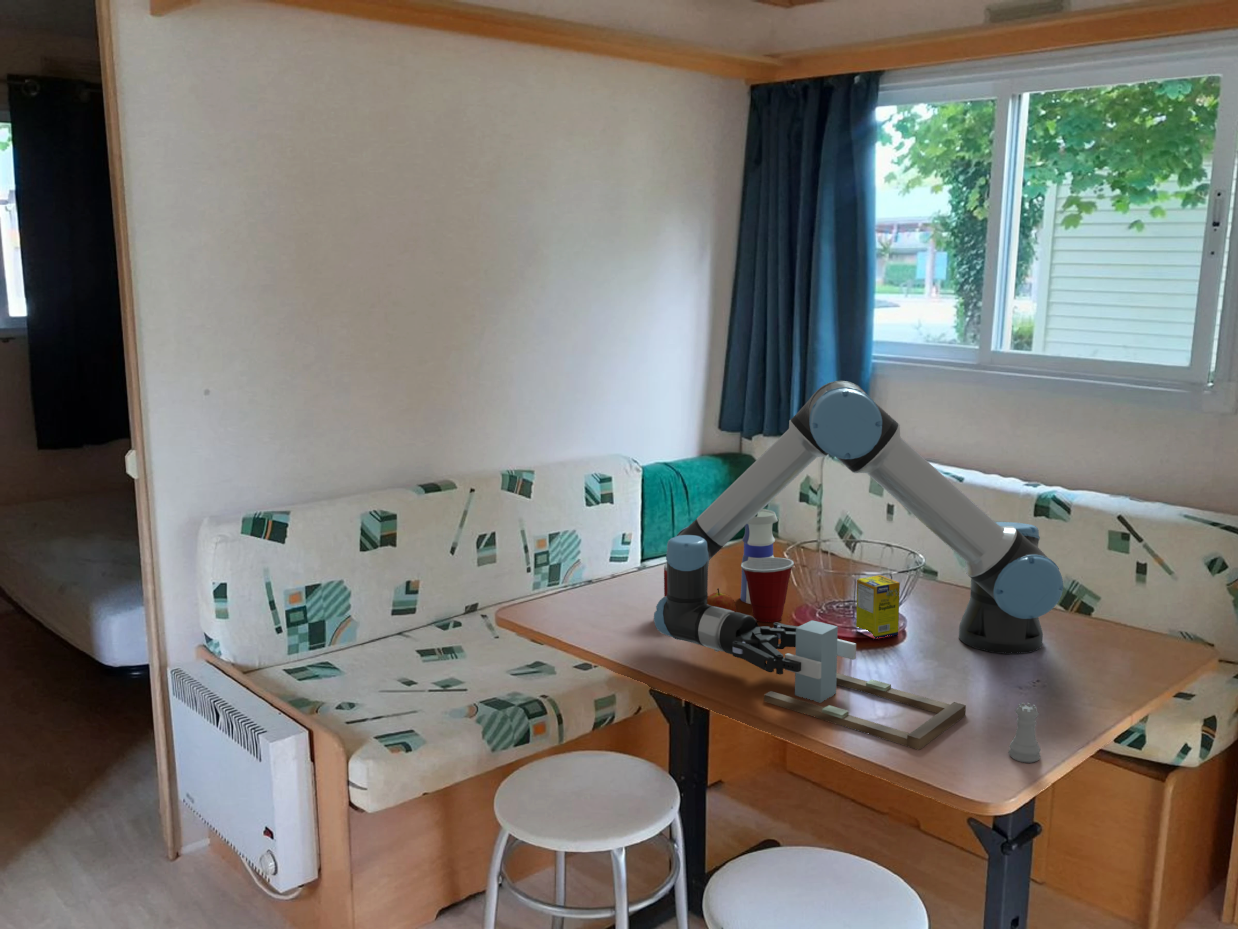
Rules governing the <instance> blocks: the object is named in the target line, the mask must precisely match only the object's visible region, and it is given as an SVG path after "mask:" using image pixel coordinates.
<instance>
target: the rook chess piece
mask: <svg viewBox="0 0 1238 929" xmlns="http://www.w3.org/2000/svg"><path fill="white" fill-rule="evenodd" d="M1025 704H1026V703H1025V702H1020V703H1018V705H1017V708H1016V709H1015V710H1014V711H1015V713H1016V715H1017V719H1015V721H1016V724H1017V727H1016V732H1015V736H1014V737H1013V738H1012V741H1010V744H1009V746H1008V747H1009V750H1008V755H1009V756H1010V757H1011V758H1012V759H1013V760H1014V761H1017V762H1020V763H1023V764H1024V763H1025V764H1033V763H1036V762H1038V760H1040V759H1041V754H1040V752H1041V751H1042V750H1041V746H1040V745H1039V743H1038V740H1037V738H1036V725H1037V721H1036V718H1037V717H1038V716H1039V715H1040V713H1039V712H1038V710H1037V709H1038V708H1037V706H1036V705H1035V704H1032V703H1029V702H1027V704H1026V705H1025Z"/></svg>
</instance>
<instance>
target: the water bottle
mask: <svg viewBox="0 0 1238 929" xmlns="http://www.w3.org/2000/svg"><path fill="white" fill-rule="evenodd" d="M778 521H779V519H778V517H777V515H776V512H775V511H774V510H770V509H765V508H763V509H762V510H761V511H760V512H759V513H758V514H757V515H756V516H755V517H754V518H752V519H751V520H750V521H749V522H748V523H747V524H746V525H745V526H744V529H745V530H744V535H743V537H742V540H741V541H742V542H743V555H742V559H741V563H743V562H745V561H748V560H751V559H757V558H769V557H774V558H775V556H774V543H775V541H776V538H775V537H774V535H773V524H775V523H777V522H778ZM740 580H741V586H740V596H739V597H740V601H741V602H743V603H746V604H748V605H749V604H750V605H751V601H750V596H749V590H748V584H747V579H746V576H745V573H744V570H743V569H742V568H741V579H740Z"/></svg>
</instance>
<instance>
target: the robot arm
mask: <svg viewBox="0 0 1238 929" xmlns="http://www.w3.org/2000/svg"><path fill="white" fill-rule="evenodd" d="M788 422H789V424H788V429H787V430H786V431H785V432H783V434H782V435H780V437H779V438H778V439H776V441H775V442H774V443H773V444H772V445H771V446H769V448H768V449H767V450H766V451H764V453H763V454H761V456H759V457H758V458H757V459H756V460H755V461H754V462H753V463H752V464H751V465H750V466H749V467H748V468H746V470H745V471H743V473H742V474H741V475H740V476H739V477H737V479H736V480H734V481H733V482H732V484H731V485H729V486H728V487H727V488H726V489H725V490H724V491H723V492H722V493H721V494H720V495H719V496H718V497H717V498H715V500H714V501H713V502H711V504H710V505H709V506H708V507H707V508H706V509H705V510H704V511H703V512H702V513H701V514H700V515H699V516H697V518H696V519H695V520H694V521H693V522H692V523H690V525H687V526H686V527H684V528H682V529H681V530H680V531H679V532H678V533H677V534H676V535H675V536H674V537H671V538H670V539H668V541H667V544H666V545H667V546H666V556H665V561H666V564H667V588H668V592H667V596H665V597H664V596H663V597H662V598H661V599H660V600H659V601H658V603H657V604H656V606H655V608H656V610H655V612H654V614H653V621H654V626H655V628H656V630H657V631H658V632H660V634H663V635H666V636H669V637H671V638H673V639H675V640H678V641H683V642H687V643H692V644H694V645H695V644H696V645H700V646H702V647H705V648H709V649H712V650H714V652H716V653H717V652H719V651H720V652H725V653H726V654H728V655H732V657H735V658H737V659H740V660H741V659H742V660H744V661H745V662H748V663H749V664H751V665H753V666H756V667H757V668H760V669H761V670H763V671H766V672H768V673H774V672H775V671H776V672H775V674H776V675H783V674H784V670H785V671H788V672H791V673H794V674H795V673H798V674H802V675H805V676H809V677H812V678H816V679H820V678H821V662H818V661H815V660H811V659H807V658H804V657H800V656H796V654H792V653H788V652H787V653H785V654H783V653H781V652H780V651H779V650H785V648H796V628H797V627H799V626H800V625H799V626H797V625H792V624H791V625H789V624H785V623H780V622H778V621H776V622H773V627H770V626H767V625H766V626H760V625H759V623H758V622H757V620H756V619H755V618H754V616H753V615H749V614H746V613H741V612H738V611H736V612H734V611H732V610H728V609H723V608H719V607H715V606H711V605H708V604H707V597H708V596H709V594H708V578H709V577H708V576H709V575H708V574H709V565H710V560H712V558H713V557H714V556H715V555H716V554H717V553H719V552H720V551H721V550H722V548H724V546H725V545H727V543H728V542H729V541H730V540H732V539H733V538H734V537H735V536H736V535H737V534H738V533H739V532H740V531H742V529H743V528H745V525H746V524H747V523H748V522H749V521H750V520H751V519H752V518H754V517H757V515H758V513H759V512H760V511H761V510H762V509H765V507H767V506H768V505H769V504H770V502H772V501H773V499H775V498H776V497H777V496H778V495H779V494H780V493H781V492H782V491H783V490H784V489H785V488H786V487H787V486H789V485H790V483H792V482H793V481H794V480H795V479H796V478H797V477H798V476H799V475H800V474H801V473H802V472H803V471H804V470H806V468H808V467H809V465H811V464H812V463H813V462H814V461H815V460H816V459H817V458H826V457H827V456H828V455H830V456H831V457H834V458H836V459H837V460H838V461H839V462H840V463H842V464H843V465H844V466H845V467H846V468H847V469H848V470H849V471H850V472H852V473H853V474H867V475H868V476H869V477H870V478H871V479H872V480H874V481H875V482H876V483H877V484H878V485H879V486H880V487H881V488H882V489H884V490H885V491H886V492H887V493H888V494H889V495H890V496H892V498H894V499H895V500H896V501H897V502H898V503H899V504H900V505H902V506H903V507H904V509H906V510H907V511H908V512H909V513H910V514H912V515H913V516H914V517H915V518H916V519H917V520H918V521H920V523H922V525H924V526H925V528H927V529H928V530H930V531H931V532H932V534H934V535H935V536H937V538H938V539H940V540H941V541H942V542H943V543H944V544H946V546H948V548H950V550H952V551H953V552H954V553H955V554H956V555H958V557H960V558H961V559H962V560H963V561H964V562H965V573H966V575H968V576H967V577H970V595H969V600H968V602H967V603H968V604H967V606H966V608H965V611H964V613H963V615H962V618H961V620H960V623H959V628H958V638H959V640H960V641H961V642H962V643H963V644H966V645H967V646H969V647H970V648H971V647H972V648H974V649H978V650H981V651H985V652H991V653H995V654H996V653H997V654H1009V655H1010V654H1011V655H1013V654H1017V655H1019V654H1027V653H1031V652H1035V651H1037V650H1039V649H1041V647H1042V646H1043V638H1044V637H1043V635H1044V634H1043V630H1042V626H1041V622H1040V619H1039V617H1043V616H1044V615H1046V614H1048V613H1050V611H1052V610H1053V609H1054V608H1055V607H1056V605H1058V603H1059V602H1060V601H1061V600H1060V599H1061V597H1062V595H1063V589H1064V580H1063V577H1062V576H1063V575H1062V574H1061V571H1060V568H1059V566H1058V565H1057V563H1055V562H1054V561H1053V560H1052V559H1051V558H1049V556H1047V554H1045V553H1044V552H1043V551H1042V550H1041V549H1040V547H1039V544H1040V539H1041V537H1040V532H1039V531H1040V529H1039V528H1038V527H1037V526H1036V525H1034V524H1030V523H1029V524H1028V523H1022V522H1010V521H1009V522H1008V521H1006V522H1005V521H995V520H994V519H992V517H991V516H989V515H988V514H986V512H985V511H984V510H982V509H981V508H980V507H979V506H978V505H977V504H976V503H974V502H973V501H972V500H971V499H970V498H969V497H968V496H967V495H966V494H965V493H963V492H962V491H961V490H960V489H959V488H958V487H957V486H955V485H954V484H953V482H952V481H950V480H949V479H948V478H947V477H946V476H944V475H943V474H942V473H941V472H940V471H939V470H938V469H936V468H935V467H934V466H933V465H932V464H931V463H930V462H929V461H927V460H926V458H924V457H923V456H922V455H921V454H920V453H919V452H918V451H917V450H915V449H914V448H913V447H912V446H911V445H910V444H909V443H908V442H906V441H905V439H903V438H902V436H901V427H900V426H901V425H900V424H899V423H898V422H897V421H896V419H895V418H893V417H892V416H891V415H889V414H888V413H887V412H886V411H885V410H884V409H883V408H882V407H881V406H880V405H879V404H878V403H876V402H875V401H874V399H872V398H871V396H869V395H868V394H867V392H866V391H865V390H864V389H863V388H862V387H860V386H859V385H858V384H856V383H853V382H851V381H847V380H846V381H845V380H836V381H835V380H833V381H831V382H827V383H826V384H823V385H821V387H819V388H818V389H817V390H816V391H815V392H814V393H813V394H812V395H811V397H810V398H809V399H808V400H807V401H806V403H805V404H804V405H803V406H802V407H801V408H800V409H799V410H798V411H797V413H796V414H794V415H793V417H792V418H790V419H789V421H788ZM779 640H780V641H779ZM779 642H780V643H779ZM837 657H842V658H845V659H849V660H853V661H854V660H856V659H857V643H855V642H851V641H847V640H843V639H841V638H840V639H839V638H837Z"/></svg>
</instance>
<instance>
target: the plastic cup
mask: <svg viewBox="0 0 1238 929" xmlns="http://www.w3.org/2000/svg"><path fill="white" fill-rule="evenodd" d="M794 564H795V563H794V560H792V559H789V558H783V557H775V556H774V557H769V558H757V559H751V560H748V561H745V562H743V563H742V562H741V563H740V567H741V570H742V569H743V570H744V573H745V576H746V579H747V584H748V590H749V596H750V601H751V604H750V605H751V610H752V611H751V612H752V617H754V618H755V620H756V621H759V622H762V623H776V622H779V621H780V620H782V618H783V616H784V609H785V608H784V607H785V605H786V601H787V600H786V599H787V595H788V594H787V593H788V588H789V582H790V578H791V573H792V569H793V567H794Z"/></svg>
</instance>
